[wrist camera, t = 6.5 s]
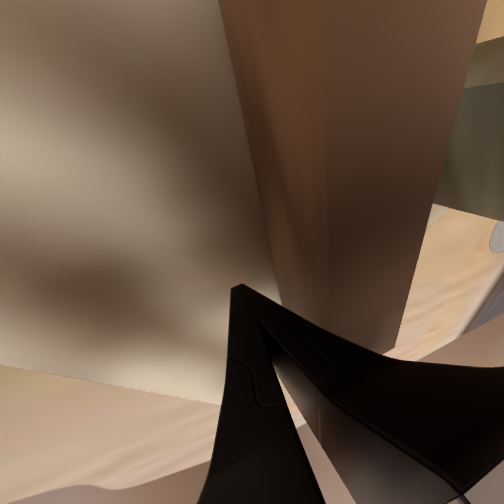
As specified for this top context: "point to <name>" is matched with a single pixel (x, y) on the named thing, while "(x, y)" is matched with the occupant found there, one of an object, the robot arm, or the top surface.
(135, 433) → the top surface
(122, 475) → the top surface
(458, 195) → the stool seat
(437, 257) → the top surface
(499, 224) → the french press
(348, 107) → the walnut leg
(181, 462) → the top surface
